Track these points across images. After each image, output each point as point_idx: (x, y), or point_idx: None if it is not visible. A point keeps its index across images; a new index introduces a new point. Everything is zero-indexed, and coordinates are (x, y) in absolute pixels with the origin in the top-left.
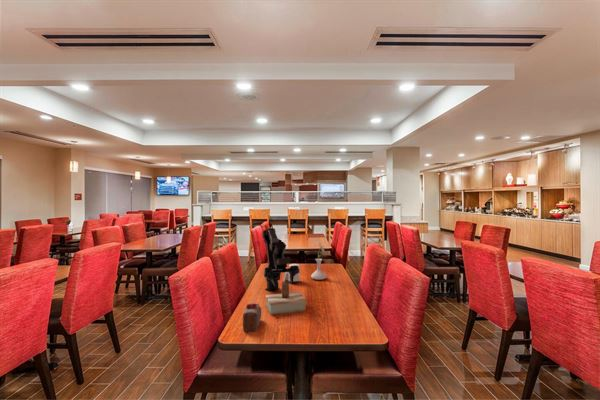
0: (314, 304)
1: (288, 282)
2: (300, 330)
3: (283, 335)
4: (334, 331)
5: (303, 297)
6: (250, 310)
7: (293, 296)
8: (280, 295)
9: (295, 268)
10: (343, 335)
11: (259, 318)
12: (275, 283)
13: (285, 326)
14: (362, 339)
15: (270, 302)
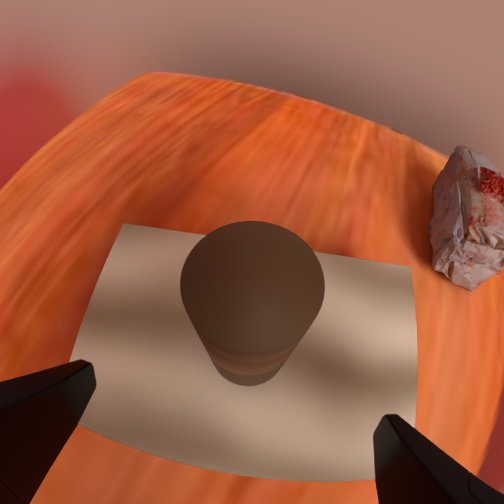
0: (50, 333)
1: (197, 250)
2: (284, 135)
3: (348, 137)
4: (190, 107)
5: (114, 259)
6: (485, 163)
7: (168, 323)
8: (278, 417)
9: None
10: (187, 93)
11: (439, 201)
12: (398, 427)
13: (328, 173)
14: (166, 80)
15: (408, 274)
